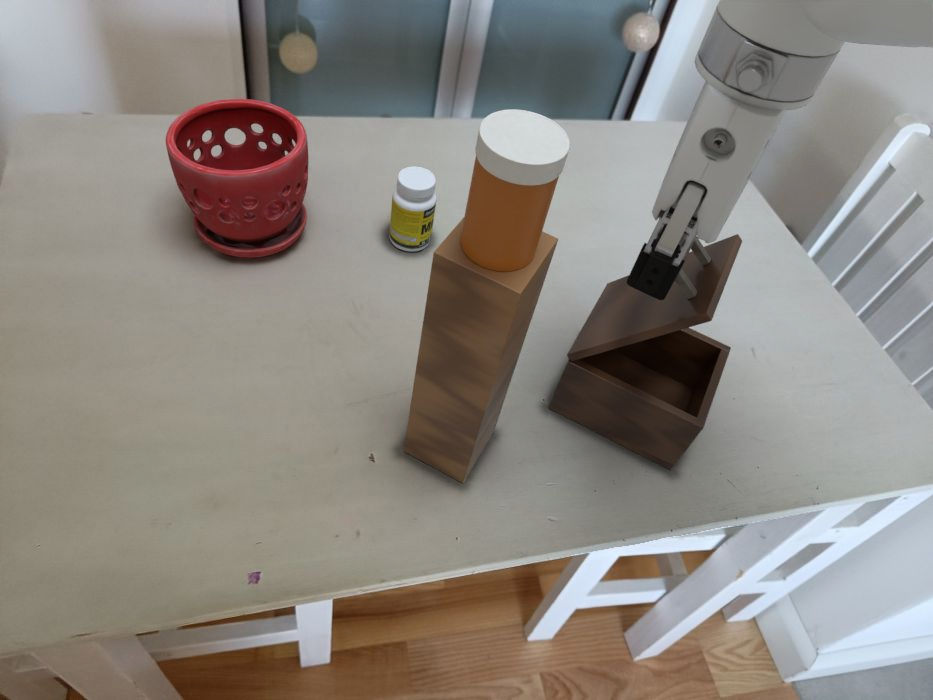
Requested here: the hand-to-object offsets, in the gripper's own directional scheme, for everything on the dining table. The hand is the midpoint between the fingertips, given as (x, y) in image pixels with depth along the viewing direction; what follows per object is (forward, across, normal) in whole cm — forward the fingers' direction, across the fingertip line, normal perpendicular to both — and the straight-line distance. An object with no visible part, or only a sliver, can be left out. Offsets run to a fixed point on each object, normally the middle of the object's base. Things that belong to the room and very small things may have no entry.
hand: (658, 266), depth 56 cm
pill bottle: (-7, -14, +9) cm, 18 cm away
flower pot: (+17, -2, +41) cm, 44 cm away
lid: (+4, 0, -1) cm, 4 cm away
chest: (+17, 0, -3) cm, 17 cm away
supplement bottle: (+17, +7, +26) cm, 32 cm away
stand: (+17, -14, +9) cm, 24 cm away
